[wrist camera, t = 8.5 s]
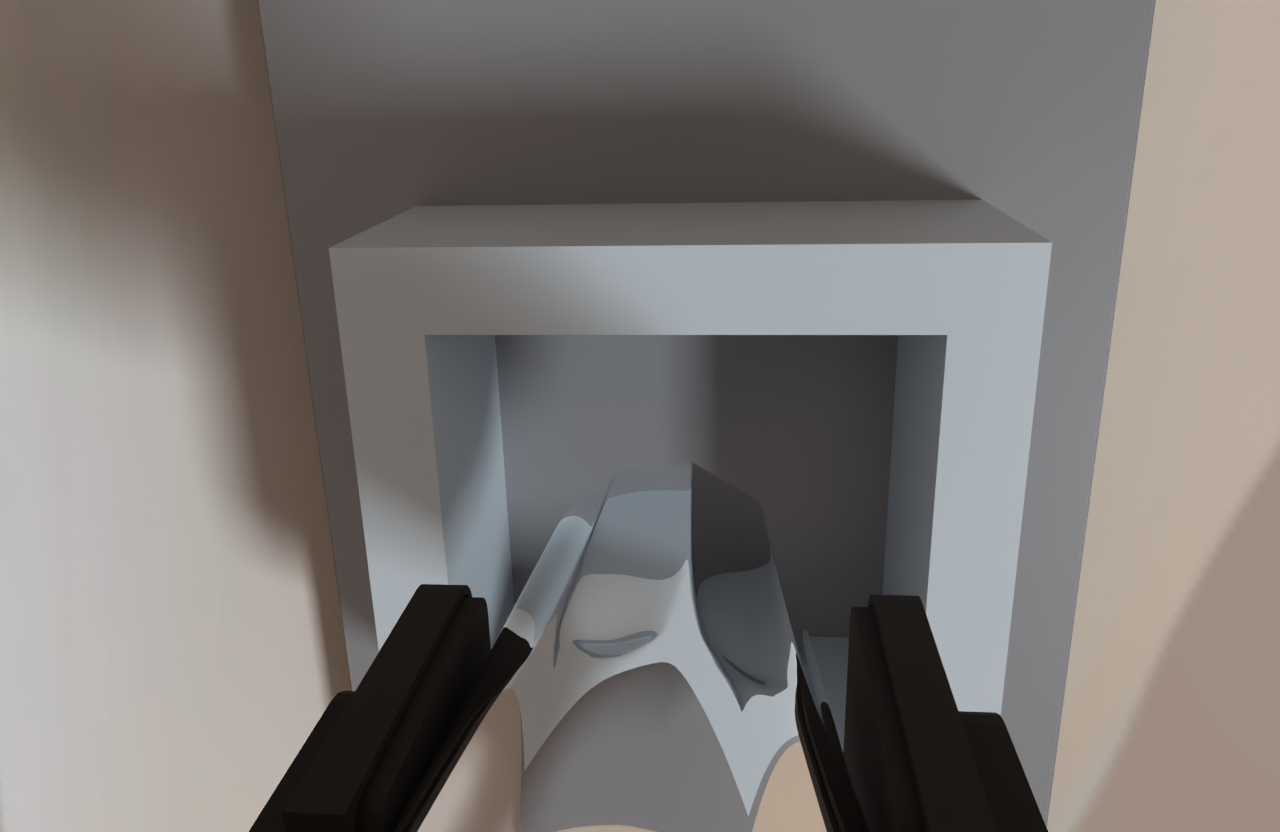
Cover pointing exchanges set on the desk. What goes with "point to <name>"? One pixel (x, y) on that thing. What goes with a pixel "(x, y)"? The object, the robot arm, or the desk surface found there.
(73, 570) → the desk surface
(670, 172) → the housing
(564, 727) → the milkshake
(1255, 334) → the desk surface
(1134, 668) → the desk surface
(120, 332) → the desk surface
